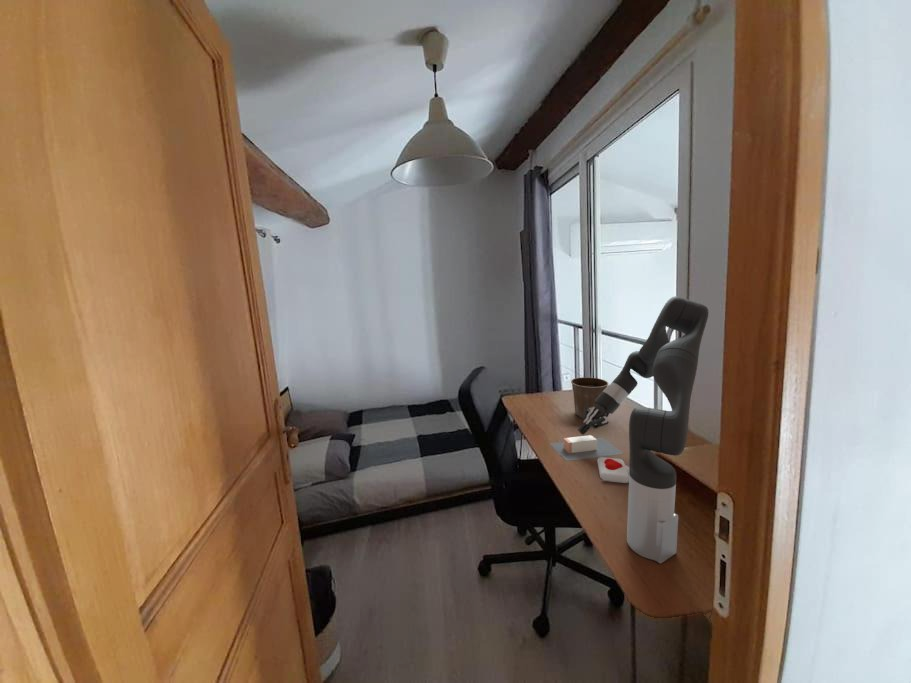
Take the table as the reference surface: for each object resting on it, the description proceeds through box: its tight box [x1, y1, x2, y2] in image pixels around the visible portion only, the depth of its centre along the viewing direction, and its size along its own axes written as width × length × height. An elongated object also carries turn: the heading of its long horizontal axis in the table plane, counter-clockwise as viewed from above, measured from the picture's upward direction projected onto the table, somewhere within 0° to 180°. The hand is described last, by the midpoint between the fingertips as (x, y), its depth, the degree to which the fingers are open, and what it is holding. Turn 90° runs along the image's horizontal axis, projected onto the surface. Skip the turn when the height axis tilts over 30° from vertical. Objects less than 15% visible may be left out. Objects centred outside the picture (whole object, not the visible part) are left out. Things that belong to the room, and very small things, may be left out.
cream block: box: [563, 434, 597, 453], centre depth 128 cm, size 4×4×11 cm
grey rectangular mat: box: [549, 437, 625, 462], centre depth 129 cm, size 22×14×1 cm, turn 99°
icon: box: [596, 456, 629, 484], centre depth 112 cm, size 12×4×10 cm
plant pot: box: [570, 376, 610, 418], centre depth 161 cm, size 16×16×16 cm
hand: (580, 432), depth 127 cm, fingers closed
